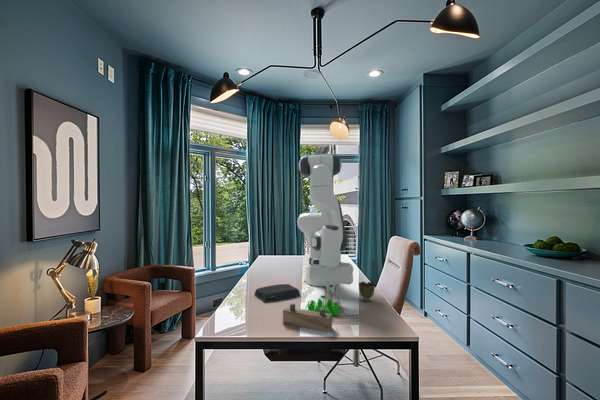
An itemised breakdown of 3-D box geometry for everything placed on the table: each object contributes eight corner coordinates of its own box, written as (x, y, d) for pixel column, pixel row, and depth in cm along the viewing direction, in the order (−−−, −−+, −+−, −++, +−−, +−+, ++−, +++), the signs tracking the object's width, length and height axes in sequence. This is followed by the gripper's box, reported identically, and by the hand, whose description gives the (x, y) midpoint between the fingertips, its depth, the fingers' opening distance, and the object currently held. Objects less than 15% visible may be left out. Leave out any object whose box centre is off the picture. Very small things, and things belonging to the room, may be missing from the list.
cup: (375, 298, 147) (375, 281, 147) (374, 303, 140) (374, 286, 140) (359, 297, 149) (359, 280, 149) (357, 302, 142) (357, 284, 142)
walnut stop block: (287, 319, 121) (287, 301, 121) (331, 327, 114) (332, 308, 114) (282, 323, 117) (283, 304, 117) (328, 332, 110) (328, 312, 110)
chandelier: (334, 305, 138) (335, 290, 138) (346, 318, 123) (346, 301, 123) (301, 307, 135) (301, 291, 135) (309, 321, 120) (310, 303, 120)
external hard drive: (253, 295, 151) (253, 287, 151) (288, 290, 161) (288, 282, 161) (264, 304, 140) (264, 294, 140) (301, 297, 150) (301, 288, 150)
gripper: (355, 262, 140) (354, 293, 140) (313, 258, 149) (312, 287, 148) (351, 264, 134) (350, 296, 134) (307, 260, 143) (307, 290, 143)
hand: (330, 291), depth 141 cm, fingers closed
